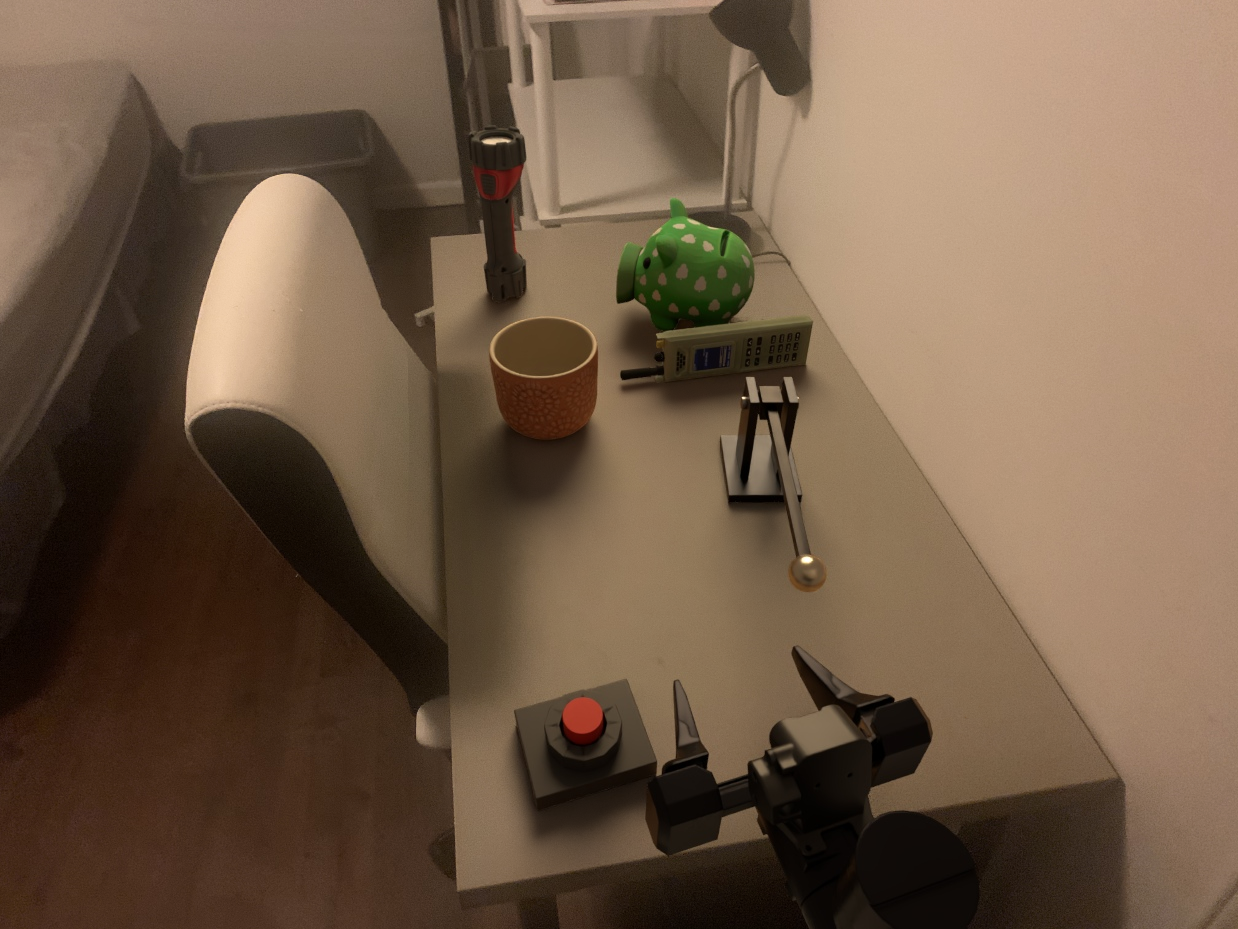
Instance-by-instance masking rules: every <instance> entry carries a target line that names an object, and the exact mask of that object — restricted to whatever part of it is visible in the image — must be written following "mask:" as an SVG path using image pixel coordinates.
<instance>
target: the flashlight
mask: <svg viewBox="0 0 1238 929" xmlns="http://www.w3.org/2000/svg"><path fill="white" fill-rule="evenodd" d="M467 142H468V154H469V161H471V162H472V168H473V176H474V181H475V184H476V187H477V190H478V195H479V199H480V203H481V212H482V213H481V214H482V223H483V224H482V225H483V233H484V242H485V250H486V259H487V260H486V262H485V263H484V264H483V270H484V271H483V273H484V279H485V286H486V291H487V293H488V294H491V296H492V299H491V300H492V301H493V302H494V303H498V304H499V303H503V302H505V301H507V300H508V299H509V298H513V297H514V298H515V299H519V298H520V297H522V296H523V291H525V290H527V287H528V280H527V279H528V278H527V260H526V259H525V258H523V255H522V254H521V253H520V252H518V250H517V246H516V234H515V221H514V220H515V217H514V210H513V208H514V207H513V195H514V193H515V191H516V188H517V187H518V184H519V182H520V180H521V177H522V175H523V170H524V166H525V163H526V161H527V159H528V158H527V150H526V148H527V147H526V141H525V135H524V134H522V133H521V130H520V129H519V128H518V127H516V126H512V125H511V126H509V127H508V128H501V127H500V128H499V127H497V126H496V125H495V124H494V125H493V124H492V125H486V126H484V128H483V130H480V131H476V130H472V131H470V132H469V134H468V135H467Z"/></svg>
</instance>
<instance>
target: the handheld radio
mask: <svg viewBox="0 0 1238 929" xmlns="http://www.w3.org/2000/svg"><path fill="white" fill-rule="evenodd" d="M813 325H814V320H813V319H812V318H811V316H810V315H808V314H799V315H792V316H791V315H790V316H784V317H774V318H766V319H758V320H748V321H739V322H732V323H729V324H722V325H713V326H705V327H696V328H695V327H689V328H681V329H680V328H679V329H674V330H670V331H665V332H664V331H662V332H659V333H658V332H657V333H656V334H655V336H656V338H657V341H656V342H655V344H656V345H655V346H656V348H657V349H662V351H658V352H656V353H654V355H653V358H654V361H655V362H656V363H661V365H656V366H653V367H651V366H650V367H648V366H647V367H639V368H631V369H629V368H628V369H621V370H620V373H619V376H620V379H621V381H629V380H637V379H645V378H651V377H652V376H654V378H655V382H656V383H667V382H669V383H670V382H677V381H683V380H690V379H692V380H693V379H699V378H700V379H701V378H708V377H709V378H710V377H715V376H724V375H732V374H740V373H741V374H742V373H748V372H757V371H763V370H773V369H778V368H787V367H795V366H803V365H807V360H808V354H809V347H810V343H811V342H810V341H811V337H812V336H811V335H812V332H813Z"/></svg>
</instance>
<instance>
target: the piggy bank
mask: <svg viewBox="0 0 1238 929" xmlns="http://www.w3.org/2000/svg"><path fill="white" fill-rule="evenodd" d="M669 208H670V219H669V220H667V221H666V222H665V223H664V224H663V225H661V226H660V227H659V228H658V229H656V230H655V231H654V232H653V233H651V235H650V237H649V238H648V240H647V242H646V244H645V246H644V247H643V246H642V245H640V244H637V243H633V242H626V244H624V247H623V249H622V252H621V255H620V258H619V262H618V267H617V274H616V281H615V282H616V285H615V300H616V304H617V305H621V304H624V303H629V302H631V301H633V300H635V301H636V302H637V303H639V304H641V305H642V306H643V307H645V308H646V309H647V310H648V312H649V315H650V321H651V323H652V325H653V326H654V328H655V329H656V330H658V331H660V332H665V331H670V330H676V328H677V326H678V325H679V322H680V320H685V321H690V322H692V323H693V326H694V327H693V328H696V327H705V326H713V325H722V324H730V321H731V320H732V318H733V317H735V316H736V315H738V314H739V313H740V312H741V310H742V309H743V308H744V307H745V305H747V303H748V301H749V299H750V296H751V295H752V292H753V289H754V285H755V279H756V278H755V271H756V270H755V263H754V259H753V255H752V252H751V251H750V250H751V249H750V248H749V247H748V245H747V243H746V242H744V241H743V239H742V238H741V237H739V236H738V235H737V234H736V233H734V232H732V231H731V230H729V229H725V228H720V227H714V226H709V225H707V224H704V223H702V222H700V221H697V220H695V219H693V218H690V217H689V216H688V212H687V209H686V206H685V205H684V203H683V201H682V200H680V199H679V198H676V197H671V198H669Z"/></svg>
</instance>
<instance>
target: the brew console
mask: <svg viewBox="0 0 1238 929" xmlns="http://www.w3.org/2000/svg"><path fill="white" fill-rule="evenodd" d="M582 697H585V698H590V699H592V700H594V701H596V702H597V703H598V704H599V705H600V707H601V709H602V712H603V730H602V733H601V735H600V736H599V738H598V739H597V740H595V741H594V742H592V743H590V744H585V745H580V744H576V743H573V742H572V741H570V740H569V739H568V738H567V737H566V735H565V733H564V728H563V717H562V716H563V711H564V708H565V707H566V705H567V704H568V703H569V702H571V701H572V700H574V699H577V698H582ZM513 713H514V720H515V725H516V728H517V732H518V737H519V741H520V745H521V749H522V752H523V758H524V762H525V765H526V766H525V767H526V770H527V773H528V774H527V775H528V778H529V782H530V786H531V790H532V795H533V800H534V803H535V807H536V810H537V811H538V812H539V811H543V810H546V809H550V808H553V807H557V806H559V805H563V804H564V803H568V802H572V801H576V800H578V799H582V798H585V797H587V796H588V797H589V796H591V795H595V794H597V793H601V792H604V791H607V790H611V789H613V788H616V787H620V786H623V785H627V784H629V783H632V782H636V781H639V780H643V779H645V778H649V777H652V776H655V775H656V776H657V773H658V759H657V756H656V754H655V751H654V749H653V745H652V743H651V740H650V737H649V735H648V732H647V729H646V727H645V724H644V721H643V718H642V716H641V713H640V709H639V707H638V705H637V703H636V699H635V697H634V694H633V691H632V688H631V686H630V684H629V681H628V679H627V678H624V679H620V680H616V681H612V682H609V683H606V684H601V685H598V686H595V687H591V688H587V689H580V690H575V691H572V692H568V693H566V694H562V696H559V697H555V698H552V699H548V700H545V701H542V702H537V703H534V704H531V705H526V706H524V707H520V708H516V709H514V710H513Z"/></svg>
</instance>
